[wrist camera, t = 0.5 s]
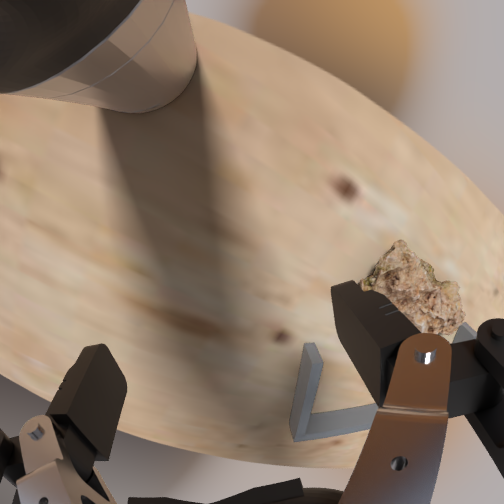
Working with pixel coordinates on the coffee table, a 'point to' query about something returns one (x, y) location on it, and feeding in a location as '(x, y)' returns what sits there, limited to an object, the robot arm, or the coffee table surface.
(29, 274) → the coffee table surface
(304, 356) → the bracket
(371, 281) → the rock
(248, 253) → the coffee table surface
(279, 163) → the coffee table surface
